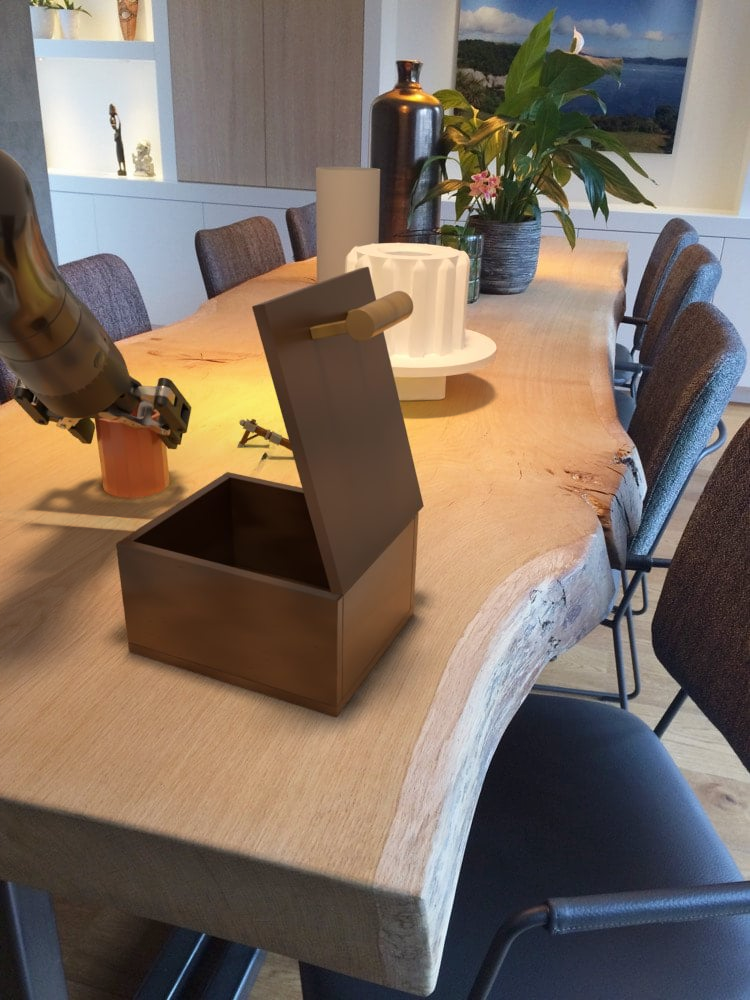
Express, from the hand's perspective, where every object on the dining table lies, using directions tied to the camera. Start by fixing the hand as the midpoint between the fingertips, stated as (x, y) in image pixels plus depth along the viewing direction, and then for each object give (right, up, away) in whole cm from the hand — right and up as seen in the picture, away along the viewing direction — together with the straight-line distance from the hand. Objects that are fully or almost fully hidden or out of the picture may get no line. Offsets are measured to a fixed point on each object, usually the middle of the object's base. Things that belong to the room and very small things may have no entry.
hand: (132, 437), depth 80 cm
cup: (0, -6, +3) cm, 6 cm away
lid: (+22, -1, -27) cm, 35 cm away
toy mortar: (+12, -2, +13) cm, 18 cm away
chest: (+16, -16, -18) cm, 29 cm away
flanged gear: (+27, +9, +37) cm, 47 cm away
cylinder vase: (+18, +36, +92) cm, 101 cm away
